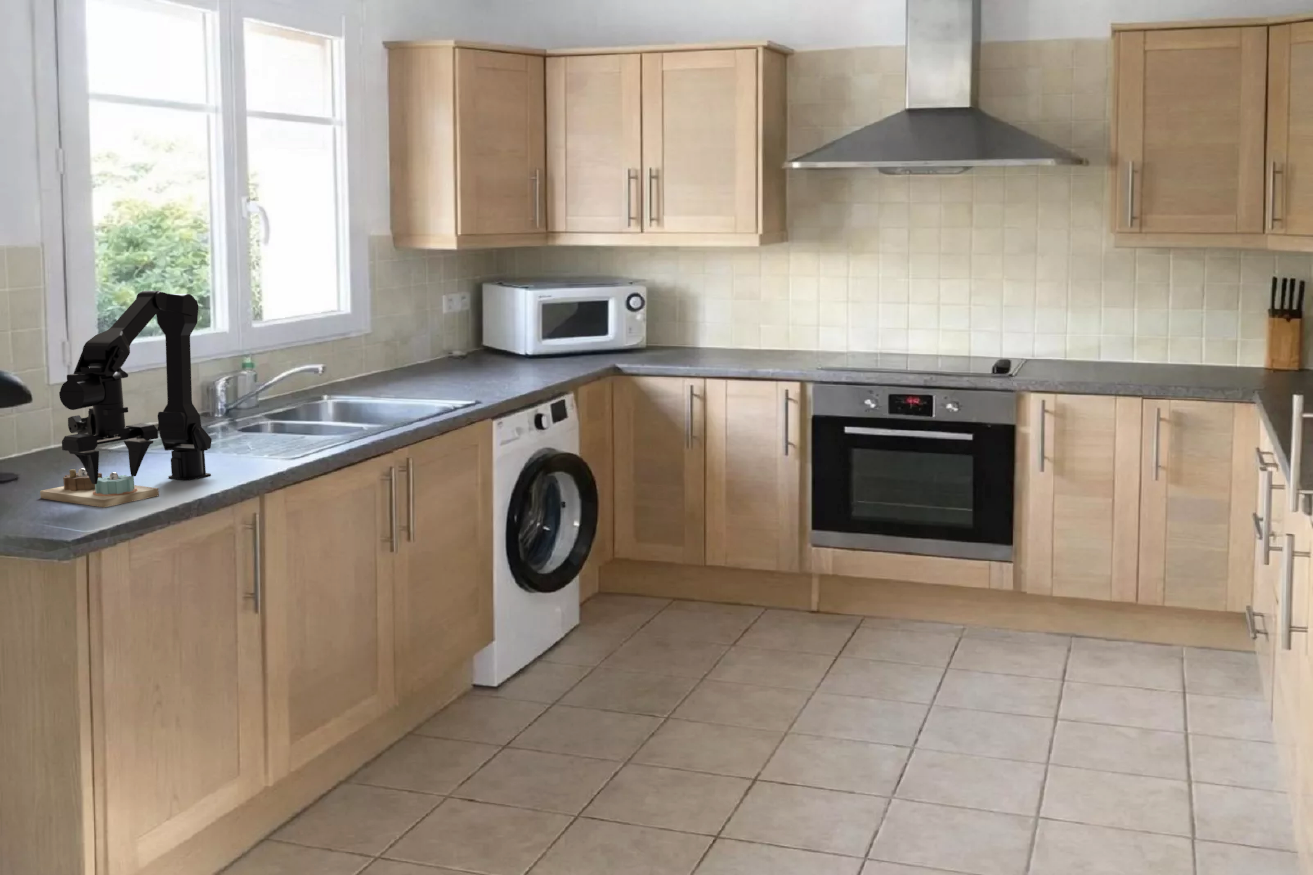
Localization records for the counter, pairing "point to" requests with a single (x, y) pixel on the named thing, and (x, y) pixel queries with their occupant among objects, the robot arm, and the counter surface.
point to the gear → (78, 481)
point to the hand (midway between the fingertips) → (114, 480)
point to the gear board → (98, 496)
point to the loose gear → (115, 485)
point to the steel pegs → (83, 472)
